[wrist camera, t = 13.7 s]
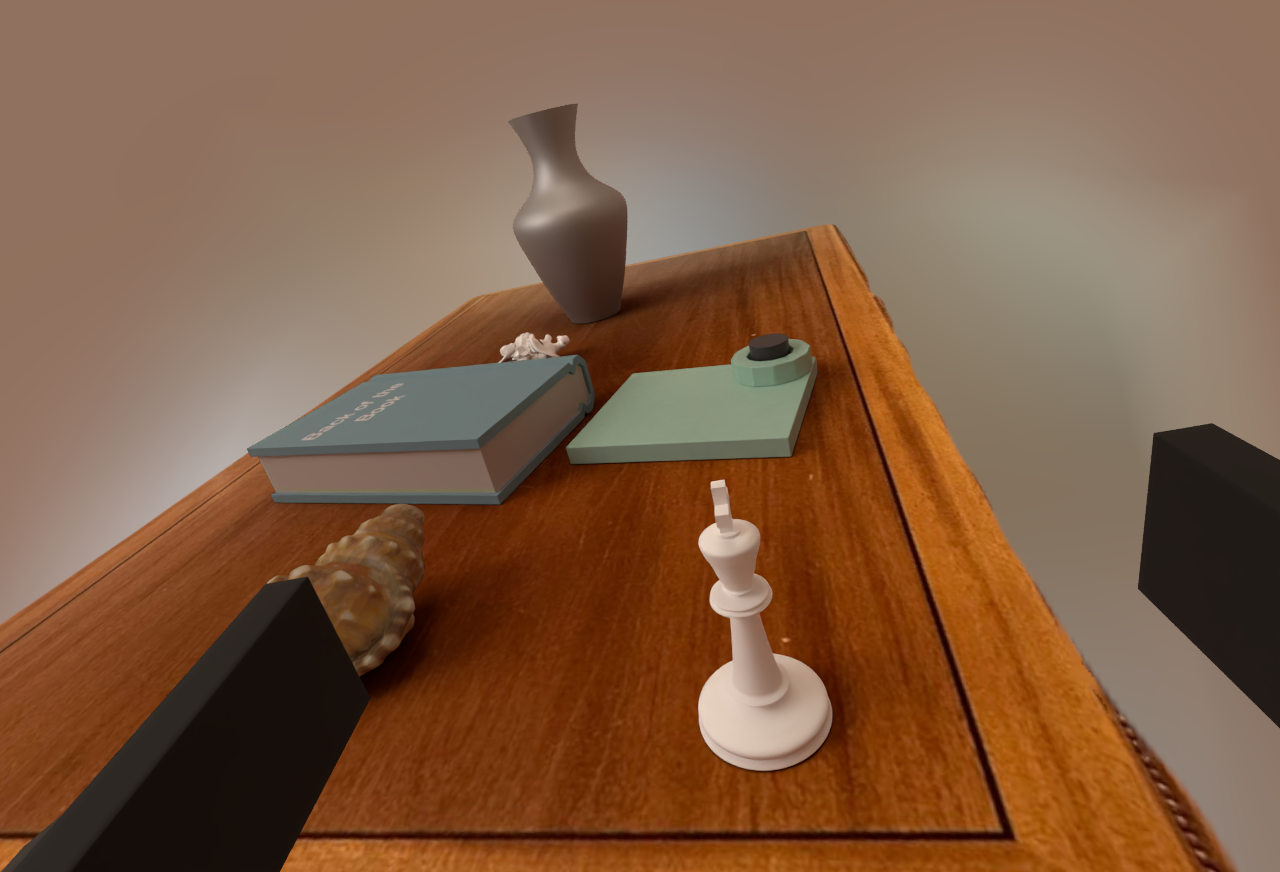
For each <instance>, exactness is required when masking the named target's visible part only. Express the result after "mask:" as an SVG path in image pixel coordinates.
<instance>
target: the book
mask: <svg viewBox="0 0 1280 872" xmlns="http://www.w3.org/2000/svg"><path fill="white" fill-rule="evenodd" d="M594 399H595V393H594V389H593V386H592V382H591V379H590V375H589V371H588V368H587V364H586V361H585V360H584V359H583V358H581V357H580V356H579V355H572V356H562V357H552V358H542V359H532V360H522V361H512V362H502V363H492V364H482V365H472V366H462V367H452V368H442V369H432V370H422V371H412V372H402V373H392V374H382V375H376V376H374V377H372V378H370V381H369V382H363V383H362V384H360V385H358V386H356V387H355V388H353V389H351V390H349V391H348V392H346V393H344V394H342V395H341V396H339V397H337V398H335V399H334V400H332V401H330V402H328V403H327V404H325V405H323V406H321V407H320V408H318V409H316V410H314V411H312V412H311V413H309V414H307V415H305V416H304V417H302V418H300V419H298V420H297V421H295V422H293V423H291V424H290V425H288V426H286V427H284V428H283V429H281V430H279V431H277V432H276V433H274V434H272V435H270V436H269V437H267V438H265V439H263V440H262V441H260V442H258V443H256V444H255V445H253V446H251V447H249V448H247V450H248V452H249V454H250V456H251V457H256V456H258V458H259V460H260V462H261V464H262V466H263V468H264V470H265V472H266V473H267V475H268V477H269V479H270V481H271V483H272V485H273V487H274V489H275V491H276V492H275V493H273V494H272V495H271V496H272V498H273V500H274V502H283V503H401V504H501V503H502V502H503V501H504V500H505V499H506V498H507V497H508V496H509V495H510V494H511V493H512V492H513V491H514V490H515V489H516V488H517V487H518V486H519V485H520V484H521V483H522V482H523V481H524V480H525V479H526V478H527V477H528V475H529V474H530V473H531V472H532V471H533V470H534V469H535V468H536V467H537V466H538V465H539V464H540V463H541V462H542V461H543V460H544V459H545V458H546V457H547V456H548V455H549V454H550V453H551V452H552V451H553V450H554V449H555V448H556V447H557V446H558V445H559V444H560V443H561V442H562V441H563V440H564V438H565V437H566V436H567V435H568V434H569V433H570V432H571V431H572V430H573V429H574V428H575V427H576V426H577V425H578V424H579V423H580V422H581V421H582V420H583V419H584V417H585V414H589V413H590V412H591V411H592V410H593V406H594Z"/></svg>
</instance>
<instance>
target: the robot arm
mask: <svg viewBox="0 0 1280 872" xmlns="http://www.w3.org/2000/svg"><path fill="white" fill-rule="evenodd" d="M1153 436H1154V437H1153V445H1152V455H1151V465H1150V475H1149V485H1148V494H1147V505H1146V514H1145V524H1144V534H1143V544H1142V553H1141V563H1140V573H1139V583H1138V589H1139V590H1140V591H1141V592H1142V593H1143V594H1144V595H1145V596H1146V597H1147V598H1148V599H1149V600H1150V601H1151V602H1152V603H1153V604H1154V605H1155V606H1156V607H1157V608H1158V609H1159V610H1160V611H1161V612H1162V613H1163V614H1164V615H1165V616H1166V617H1168V619H1169V620H1170V621H1171V622H1172V623H1173V624H1174V625H1175V626H1176V627H1177V628H1179V629H1180V631H1182V633H1184V634H1185V635H1186V636H1187V637H1188V638H1189V639H1190V640H1191V641H1192V642H1193V643H1194V644H1195V645H1196V646H1197V647H1198V648H1199V649H1200V650H1201V651H1202V652H1203V653H1204V654H1205V655H1206V656H1207V657H1208V658H1209V659H1210V660H1211V661H1212V662H1213V663H1214V664H1215V665H1216V666H1217V667H1218V668H1219V669H1220V670H1221V671H1222V672H1223V673H1224V674H1225V675H1227V677H1228V678H1229V679H1230V680H1232V682H1233V683H1234V684H1235V685H1236V686H1237V687H1239V689H1240V690H1242V691H1243V693H1245V694H1246V695H1247V696H1248V697H1249V698H1250V699H1251V700H1252V701H1253V702H1254V703H1255V704H1256V705H1257V706H1258V707H1259V708H1260V709H1261V710H1262V711H1263V712H1264V713H1265V714H1266V715H1267V716H1268V717H1269V718H1270V719H1271V720H1272V721H1273V722H1274V723H1275V724H1276V725H1277V726H1278V727H1279V728H1280V460H1279V459H1277V458H1275V457H1273V456H1271V455H1269V454H1268V453H1266V452H1264V451H1262V450H1260V449H1258V448H1256V447H1255V446H1253V445H1251V444H1249V443H1247V442H1245V441H1244V440H1242V439H1240V438H1238V437H1236V436H1234V435H1233V434H1231V433H1229V432H1227V431H1225V430H1223V429H1221V428H1220V427H1218V426H1216V425H1214V424H1212V423H1211V424H1205V425H1200V426H1194V427H1188V428H1182V429H1176V430H1170V431H1164V432H1158V433H1154V435H1153ZM369 700H370V696H369V694H368V692H367V690H366V688H365V686H364V684H363V683H362V681H361V679H360V677H359V675H358V673H357V671H356V669H355V667H354V665H353V663H352V661H351V659H350V657H349V655H348V653H347V651H346V650H345V648H344V646H343V644H342V642H341V640H340V638H339V636H338V634H337V632H336V630H335V628H334V626H333V624H332V622H331V620H330V618H329V617H328V615H327V613H326V611H325V609H324V607H323V605H322V603H321V601H320V599H319V597H318V595H317V593H316V591H315V589H314V587H313V585H312V584H311V582H310V580H309V578H308V577H302V578H296V579H290V580H285V581H279V582H273V583H267V584H265V586H264V587H263V588H262V589H261V590H260V591H259V592H258V593H257V595H256V596H255V597H254V598H253V599H252V600H251V601H250V603H249V604H248V605H247V606H246V607H245V608H244V609H243V610H242V612H241V613H240V614H239V615H238V616H237V617H236V618H235V620H234V621H233V622H232V623H231V624H230V625H229V626H228V627H227V629H226V630H225V631H224V632H223V633H222V634H221V635H220V637H219V638H218V639H217V640H216V641H215V642H214V643H213V644H212V646H211V647H210V648H209V649H208V650H207V651H206V652H205V654H204V655H203V656H202V657H201V658H200V659H199V660H198V661H197V663H196V664H195V665H194V666H193V667H192V668H191V669H190V671H189V672H188V673H187V674H186V675H185V676H184V677H183V678H182V680H181V681H180V682H179V683H178V684H177V685H176V686H175V688H174V689H173V690H172V691H171V692H170V693H169V694H168V695H167V697H166V698H165V699H164V700H163V701H162V702H161V703H160V705H159V706H158V707H157V708H156V709H155V710H154V711H153V713H152V714H151V715H150V716H149V717H148V718H147V719H146V720H145V722H144V723H143V724H142V725H141V726H140V727H139V728H138V730H137V731H136V732H135V733H134V734H133V735H132V736H131V737H130V739H129V740H128V741H127V742H126V743H125V744H124V745H123V747H122V748H121V749H120V750H119V751H118V752H117V753H116V754H115V756H114V757H113V758H112V759H111V760H110V761H109V762H108V764H107V765H106V766H105V767H104V768H103V769H102V770H101V771H100V773H99V774H98V775H97V776H96V777H95V778H94V779H93V781H92V782H91V783H90V784H89V785H88V786H87V787H86V788H85V790H84V791H83V792H82V793H81V794H80V795H79V796H78V798H77V799H76V800H75V801H74V802H73V803H72V804H71V805H70V807H69V808H68V809H67V810H66V811H65V812H64V813H63V815H61V816H60V817H59V818H58V819H57V820H55V821H54V822H53V823H52V824H51V825H49V826H48V827H47V828H46V829H45V830H43V831H42V832H41V833H40V834H39V835H37V836H36V837H35V838H34V839H33V840H31V841H30V842H29V843H28V844H27V845H25V846H24V847H23V848H22V849H21V850H20V851H19V853H18V854H17V855H16V856H15V857H14V858H13V859H12V860H11V862H10V863H9V864H8V865H7V866H6V867H5V868H4V869H3V870H2V872H280V871H281V869H282V867H283V865H284V863H285V861H286V859H287V857H288V855H289V853H290V851H291V849H292V848H293V846H294V844H295V842H296V840H297V838H298V836H299V834H300V832H301V830H302V828H303V827H304V825H305V823H306V821H307V819H308V817H309V815H310V813H311V811H312V809H313V807H314V805H315V804H316V802H317V800H318V798H319V796H320V794H321V792H322V790H323V788H324V786H325V784H326V782H327V781H328V779H329V777H330V775H331V773H332V771H333V769H334V767H335V765H336V763H337V761H338V760H339V758H340V756H341V754H342V752H343V750H344V748H345V746H346V744H347V742H348V740H349V738H350V737H351V735H352V733H353V731H354V729H355V727H356V725H357V723H358V721H359V719H360V717H361V715H362V714H363V712H364V710H365V708H366V706H367V704H368V702H369Z"/></svg>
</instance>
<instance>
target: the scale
mask: <svg viewBox="0 0 1280 872" xmlns="http://www.w3.org/2000/svg"><path fill="white" fill-rule="evenodd" d="M788 341H789V348H790V354H789V355H787V356H785V357H783V358H779V359H775V360H772V361H761V362H759V361H752V360H751V356H750V350H749V346H747V347H745V348H743V349H741V350H740V351H738V352H736V353H735V354H734V356H733V358H732V359H731V363H732V365H721V366H710V367H699V368H688V369H678V370H667V371H656V372H645V373H634V374H632V375H631V376H630V377H629V379H628V380H627V381H626V382H625V383H624V384H623V385H622V386H621V387H620V388H619V390H618V391H617V392H616V393H615V394H614V395H613V396H612V397H611V398H610V399H609V401H608V402H607V403H606V404H605V405H604V406H603V407H602V408H601V409H600V411H599V412H598V413H597V414H596V415H595V416H594V417H593V418H592V419H591V420H590V422H589V423H588V424H587V425H586V426H585V427H584V428H583V429H582V430H581V431H580V433H579V434H578V435H577V436H576V437H575V438H574V439H573V440H572V441H571V443H570V444H569V445H568V446H567V447H566V450H567V454H568V457H569V460H570V463H571V464H591V463H620V462H649V461H678V460H706V459H735V458H764V457H791V456H792V453H793V449H794V446H795V443H796V440H797V437H798V433H799V430H800V427H801V424H802V421H803V418H804V414H805V411H806V408H807V405H808V402H809V398H810V395H811V392H812V389H813V386H814V383H815V379H816V376H817V373H818V370H817V362H816V357H811V349H810V345H808V344H807V343H805V342H804V341H802V340H795V339H788Z"/></svg>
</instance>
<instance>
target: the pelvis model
mask: <svg viewBox="0 0 1280 872" xmlns="http://www.w3.org/2000/svg"><path fill="white" fill-rule="evenodd" d="M529 337H530V338H529ZM551 340H552V337H551V336H550V335H546V336H545V339H544V340H541V339H540V341H541V342H542V343H543V346H542V345H541V344H540V342H539V341H538V340H537V339H535V337H534V335H533V334H530V333H527V332H526V334H524V333H523V334H522V335H520V337H517V338H516V341H515V343H510V344H509V345H505V346H503V347H502V348H501V350H500V353H501V355H502V356H504V357H503V359H502V360H501V361H500V362H499V363H502V362H512V361H522V360H532V359H542V358H551V357H560V356H558V355H556V354H557V353H558V352H559V350H560V349H561V348H565V347H566V346H567V344H568V343H569V342H570V340H569V338H568V336H566V335H565V336H557V340H558V342H557V343H555V344H554V343H551ZM536 353H539V354H538V355H537V354H536ZM543 354H544V355H543Z"/></svg>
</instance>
